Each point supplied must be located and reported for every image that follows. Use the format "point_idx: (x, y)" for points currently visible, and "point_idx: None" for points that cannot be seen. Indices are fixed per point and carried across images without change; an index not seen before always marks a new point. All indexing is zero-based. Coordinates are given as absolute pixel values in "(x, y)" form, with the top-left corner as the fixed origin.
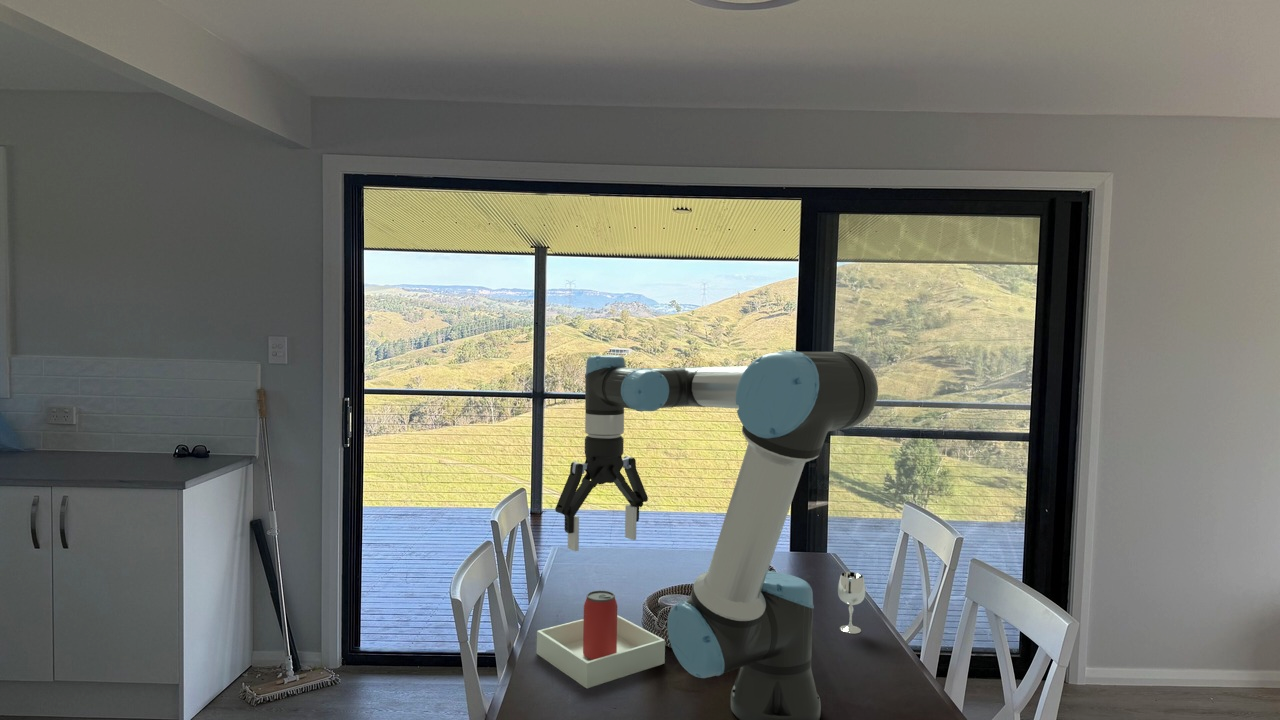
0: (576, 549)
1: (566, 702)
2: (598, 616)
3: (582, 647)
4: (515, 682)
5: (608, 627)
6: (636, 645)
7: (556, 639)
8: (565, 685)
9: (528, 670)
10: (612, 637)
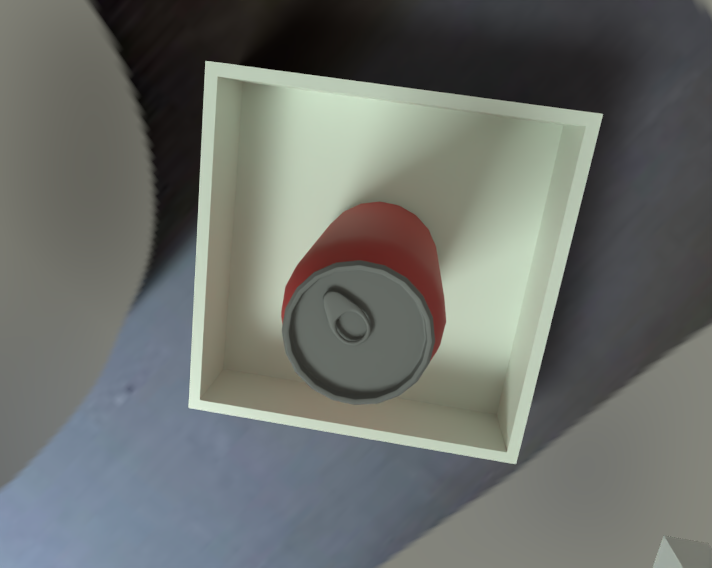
0: (702, 552)
1: (698, 84)
2: (426, 260)
3: None
4: (700, 313)
5: (386, 224)
6: (231, 224)
7: (437, 417)
8: (605, 184)
9: (608, 349)
10: (367, 213)
